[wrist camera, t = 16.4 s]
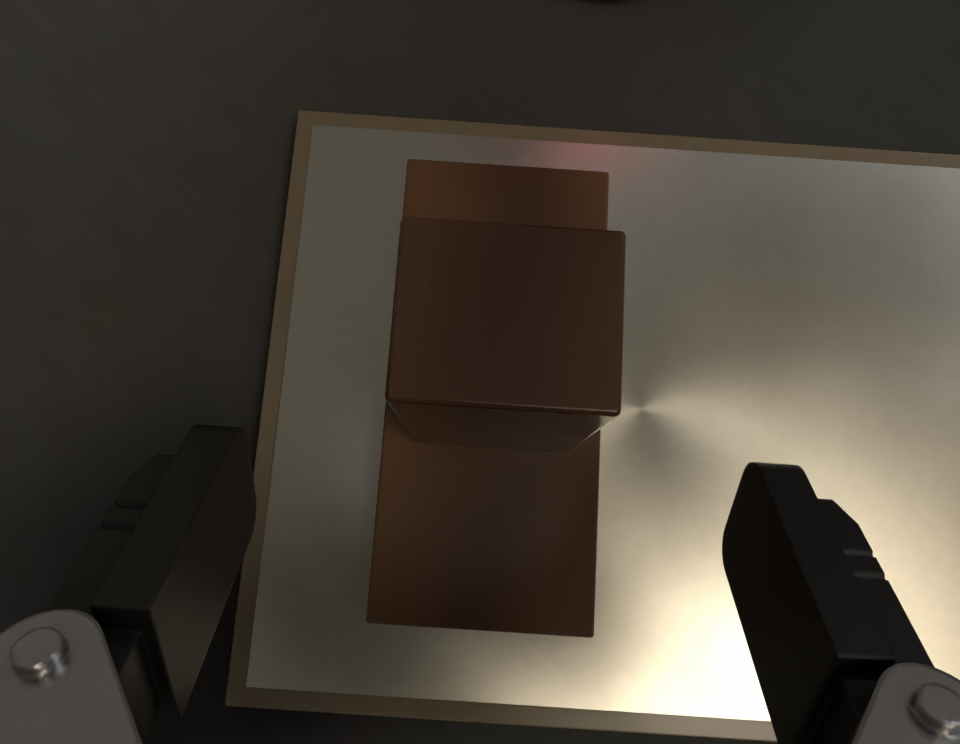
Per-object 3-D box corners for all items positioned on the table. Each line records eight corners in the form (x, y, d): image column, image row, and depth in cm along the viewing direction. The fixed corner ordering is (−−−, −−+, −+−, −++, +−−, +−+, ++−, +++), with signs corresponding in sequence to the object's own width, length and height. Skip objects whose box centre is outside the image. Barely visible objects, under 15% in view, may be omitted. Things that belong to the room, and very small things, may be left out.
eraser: (378, 610, 19) (307, 679, 11) (414, 198, 21) (379, -12, 13) (578, 624, 19) (664, 702, 11) (593, 210, 21) (674, 9, 13)
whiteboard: (235, 698, 19) (222, 707, 18) (304, 125, 22) (297, 107, 21) (1015, 749, 19) (1044, 761, 18) (975, 171, 22) (998, 154, 22)
